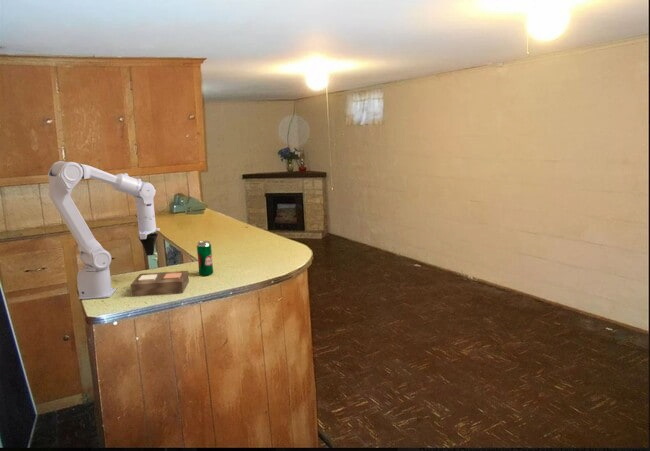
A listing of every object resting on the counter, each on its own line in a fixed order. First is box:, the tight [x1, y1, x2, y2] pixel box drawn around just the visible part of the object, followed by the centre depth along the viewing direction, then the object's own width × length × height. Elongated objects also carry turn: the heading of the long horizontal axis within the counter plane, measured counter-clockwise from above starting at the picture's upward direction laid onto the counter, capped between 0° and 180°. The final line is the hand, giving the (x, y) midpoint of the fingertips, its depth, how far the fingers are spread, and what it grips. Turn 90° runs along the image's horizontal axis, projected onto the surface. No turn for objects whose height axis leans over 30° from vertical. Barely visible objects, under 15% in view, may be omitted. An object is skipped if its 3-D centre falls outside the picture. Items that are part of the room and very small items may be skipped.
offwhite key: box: [138, 274, 157, 281], centre depth 166 cm, size 5×5×2 cm
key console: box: [130, 270, 190, 297], centre depth 166 cm, size 16×12×4 cm
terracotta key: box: [163, 273, 182, 280], centre depth 167 cm, size 5×5×2 cm
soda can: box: [196, 240, 214, 277], centre depth 181 cm, size 5×5×12 cm
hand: (150, 254), depth 174 cm, fingers closed
